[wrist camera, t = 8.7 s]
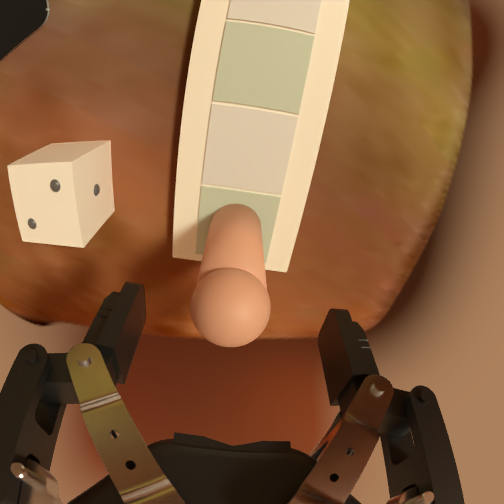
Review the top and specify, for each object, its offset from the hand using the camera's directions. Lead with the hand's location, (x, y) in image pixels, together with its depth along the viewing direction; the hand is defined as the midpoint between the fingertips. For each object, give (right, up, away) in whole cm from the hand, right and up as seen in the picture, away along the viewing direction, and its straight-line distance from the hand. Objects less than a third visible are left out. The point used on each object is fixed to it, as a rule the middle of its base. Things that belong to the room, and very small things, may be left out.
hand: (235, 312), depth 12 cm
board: (+1, +13, +2) cm, 13 cm away
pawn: (0, +4, +6) cm, 8 cm away
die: (-11, +8, +5) cm, 15 cm away
